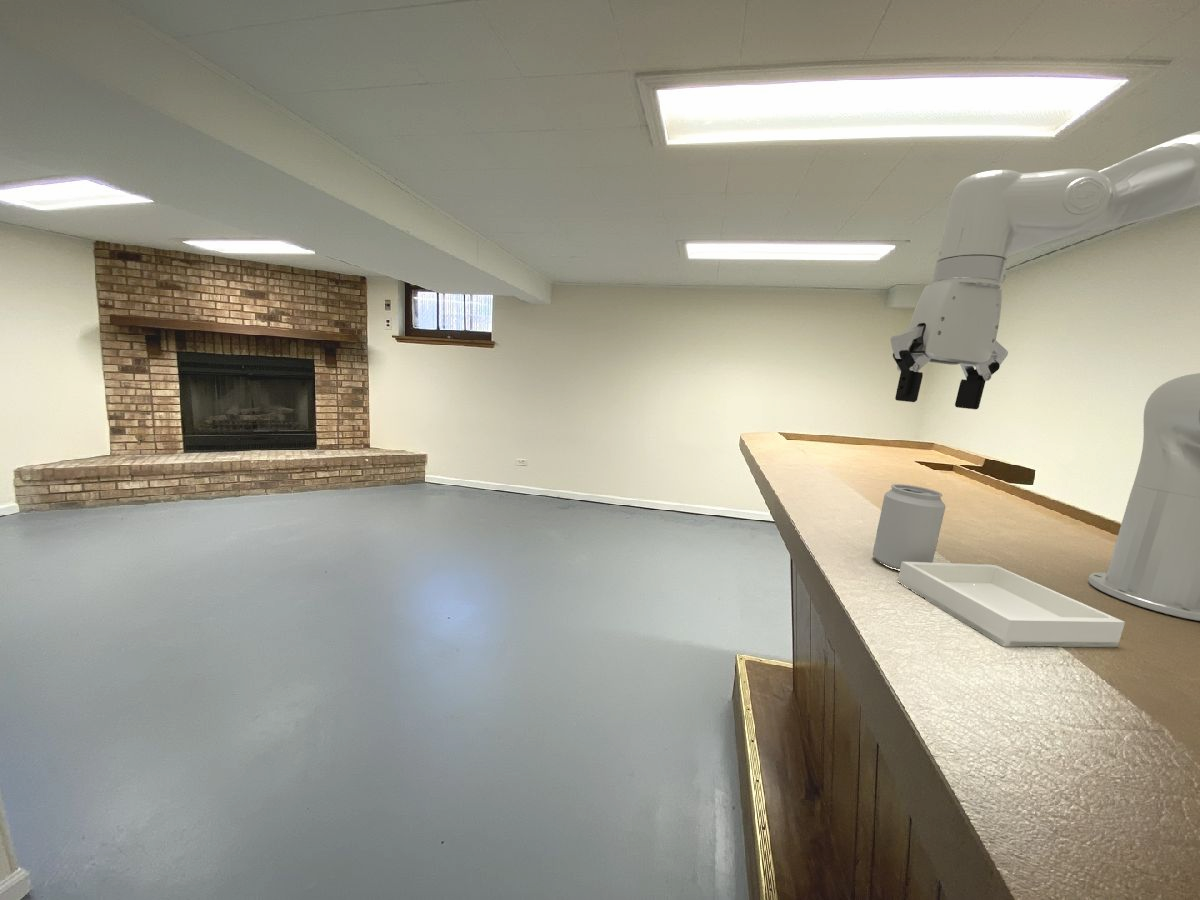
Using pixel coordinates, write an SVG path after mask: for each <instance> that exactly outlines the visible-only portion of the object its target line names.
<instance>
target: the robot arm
mask: <svg viewBox="0 0 1200 900" xmlns="http://www.w3.org/2000/svg"><path fill="white" fill-rule="evenodd" d="M1196 206H1200V130H1198V131H1194V132H1192V133H1187V134H1184V135H1181V136H1178V137H1175V138H1172V139H1170V140H1167V141H1165V142H1163V143H1162V142H1161V143H1159V144H1157V145H1155V146H1153V147H1150V148H1147V149H1145V150H1143V151H1140V152H1138V153H1136V154H1134V155H1132V156H1130V157H1128V158H1125V159H1123V160H1121V161H1118V162H1117V163H1114V164H1113V165H1110V166H1107V167H1105V168H1103V169H1101V170H1098V171H1097V170H1095V169H1091V168H1065V169H1063V168H1062V169H1056V170H1055V169H1054V170H1045V171H1035V172H1034V171H1033V172H1018V171H1017V170H1011V169H993V170H992V169H991V170H986V171H982V172H977V173H974V174H971V175H969V176H967V177H965V178H963V179H962V180H961V181H959V182H958V184H956V186H955V187H954V189H953V190H952V193H951V197H950V200H949V205H948V209H947V214H946V218H945V221H944V226H943V227H944V228H943V231H942V234H941V235H942V236H941V240H940V245H939V249H938V253H937V258H936V262H935V266H934V271H933V275H932V280H931V283H930V284H927V285H925V287H924V289H923V290H922V292H921V294H920V296H919V298H918V301H917V303H916V306H915V308H914V311H913V313H912V317H911V320H910V323H909V326H908V329H907V330H904V331H903V332H900V333H897V334H895V335H893V336H891V337H890V344H891V348H892V352H893V353H892V358H893V359H894V361H895V363H896V364H897V366H896V370H897V371H898V372H900V374H899V379H898V383H897V389H896V393H895V398H894V400H896V401H899V402H909V403H916V402H917V401H918V398H919V394H920V393H919V392H920V390H921V384H922V380H923V376H924V375H923V374H924V373H923V372H919V371H920V370H921V369H922V368H923V367H925V366H926V365H927V364H928V363H934V364H942V365H950V366H951V365H953V366H954V365H960V367H961V370H962V372H963V374H964V376H965V378H966V379H962V378H961V380H960V383H959V386H958V391H957V395H956V399H955V403H954V406H955V407H956V408H961V409H967V410H968V409H969V410H978V409H979V408H980V404H981V400H982V397H983V392H984V389H985V384H986V382H988V381H990V380H991V379H992V376H993V375H994V374H995V373H997V371H998V370H1000V367H1001V365H1002V363H1003V362H1004V360H1006V358H1007V356H1008V354H1009V350H1007V349H1006V348H1005V347H1004V346H1003V345H1002V344H1001V343H999V341H997V336H998V332H999V325H1000V320H1001V319H1000V318H1001V313H1002V312H1001V311H1002V300H1003V296H1002V294H1003V293H1002V292H1003V290H1002V289H1001V288H1002V283H1004V282H1005V279H1006V274H1005V271H1006V268H1007V267H1006V266H1007V263H1008V257H1009V255H1014V254H1019V253H1022V252H1026V251H1029V250H1032V249H1033V250H1034V249H1037V248H1040V247H1044V246H1049V245H1051V244H1055V243H1059V242H1062V241H1067V240H1069V239H1073V238H1077V237H1080V236H1084V235H1088V234H1091V233H1095V232H1100V231H1103V230H1107V229H1110V228H1111V229H1112V228H1115V227H1119V226H1120V227H1121V226H1125V225H1129V224H1133V223H1138V222H1143V221H1146V220H1150V219H1154V218H1157V217H1161V216H1164V215H1168V214H1171V213H1174V212H1179V211H1182V210H1186V209H1190V208H1193V207H1196ZM1142 421H1143V439H1142V440H1143V442H1142V450H1141V455H1140V460H1139V464H1138V467H1137V471H1136V474H1135V477H1134V481H1133V484H1132V487H1131V490H1130V494H1129V497H1128V501H1127V504H1126V507H1125V509H1124V510H1125V511H1124V514H1123V517H1122V520H1121V524H1120V528H1119V531H1118V534H1117V538H1116V542H1115V545H1114V548H1113V550H1112V551H1113V552H1112V555H1111V559H1110V562H1109V565H1108V567H1107V572H1100V571H1099V572H1092V573H1090V574H1089V576H1088V583H1089V584H1090V585H1091V586H1092V587H1094V588H1095V589H1097V590H1098V591H1101V592H1103V593H1105V594H1107V595H1109V596H1112V597H1113V598H1116V599H1119V600H1121V601H1125V602H1126V603H1129V604H1133V605H1135V606H1138V607H1142V608H1143V609H1148V610H1151V611H1154V612H1158V613H1161V614H1162V613H1163V614H1165V615H1170V616H1173V617H1178V618H1182V619H1186V620H1192V621H1198V622H1200V372H1198V373H1191V374H1186V375H1182V376H1178V377H1175V378H1173V379H1170V380H1168V381H1166V382H1165V383H1163V384H1161V385H1160V386H1158V387H1157V388H1156V389H1155V390H1154V391H1153V392H1152V393H1151V394H1150V395H1149V397H1148V399H1147V400H1146V402H1145V405H1144V410H1143V420H1142Z"/></svg>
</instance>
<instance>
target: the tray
mask: <svg viewBox="0 0 1200 900" xmlns="http://www.w3.org/2000/svg"><path fill="white" fill-rule="evenodd" d="M897 581H899V582H900V583H902V584H903V585H905V586H906V587H908V588H909V589H911V590H913V591H914V592H916V593H917V594H918V595H917V594H916V593H915V594H916V595H917V596H919V595H920V596H919V597H921V596H922V597H924V598H925V599H924V598H923V599H924V600H926V601H927V602H929V603H931V604H932V605H934V606H935V607H937V608H938V609H940V610H942V611H944V612H946V613H947V614H949V615H950V616H952V617H954V618H955V619H957V620H958V621H960V622H961V623H963V624H965V625H967V626H968V625H969V626H968V627H970V626H971V627H970V628H972V629H973V628H974V629H973V630H975V629H976V630H975V631H977V630H978V631H979V632H978V631H977V632H978V633H980V634H981V633H982V635H984V636H985V637H986V638H988V639H990V640H991V641H992V642H993V641H994V642H995V643H997V644H998V645H1000V646H1001V647H1003V648H1004V647H1007V648H1008V647H1011V648H1013V647H1022V648H1023V647H1025V646H1058V647H1057V648H1059V647H1060V648H1118V647H1119V644H1120V640H1121V637H1122V633H1123V631H1124V627H1125V625H1126V621H1124V620H1122V619H1119V618H1117V617H1114V616H1113V615H1110V614H1108V613H1105V612H1103V611H1102V610H1099V609H1096V608H1095V607H1092V606H1090V605H1087V604H1085V603H1083V602H1081V601H1078V600H1076V599H1074V598H1072V597H1069V596H1067V595H1064V594H1062V593H1060V592H1058V591H1056V590H1053V589H1051V588H1049V587H1046V586H1044V585H1042V584H1039V583H1037V582H1035V581H1033V580H1031V579H1028V578H1026V577H1023V576H1022V575H1019V574H1017V573H1014V572H1012V571H1010V570H1008V569H1006V568H1003V567H1001V566H999V565H996V564H981V563H980V564H979V563H954V562H953V563H952V562H933V563H929V562H901V567H900V572H899V571H898V577H897ZM973 584H975V586H974V585H973ZM906 587H905V588H906ZM909 589H908V590H909ZM911 590H910V591H911ZM914 592H913V593H914ZM922 597H921V598H922Z"/></svg>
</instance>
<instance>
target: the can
mask: <svg viewBox="0 0 1200 900" xmlns="http://www.w3.org/2000/svg"><path fill="white" fill-rule="evenodd" d="M890 487H891V489H889V490H888V491H886V492H885V493H884V495H883V501H882V506H881V511H880V515H879V519H878V525H877V529H876V534H875V540H874V545H873V549H872V556H873V557H874V558H875V559H876V561H877V560H878V561H879V562H881V563H882V564H885V565H887V566H889V567H892V568H896V569H900V567H901V562H929V563H934V558H935V554H936V549H937V547H938V542H939V537H940V532H941V529H942V525H943V519H944V515H945V511H946V508H947V507H946V504H945V503H944V501H943V500H942V498H941V497H943V493H941V492H939V491H937V490H934V489H930V488H926V487H922V486H916V485H911V484H910V485H909V484H901V483H895V484H892V485H891V486H890ZM878 561H877V562H878ZM879 562H878V563H879Z"/></svg>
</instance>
